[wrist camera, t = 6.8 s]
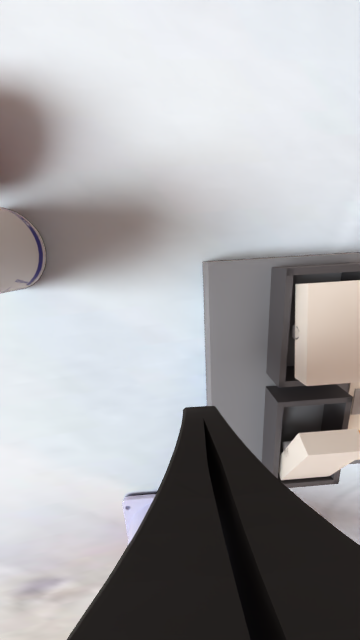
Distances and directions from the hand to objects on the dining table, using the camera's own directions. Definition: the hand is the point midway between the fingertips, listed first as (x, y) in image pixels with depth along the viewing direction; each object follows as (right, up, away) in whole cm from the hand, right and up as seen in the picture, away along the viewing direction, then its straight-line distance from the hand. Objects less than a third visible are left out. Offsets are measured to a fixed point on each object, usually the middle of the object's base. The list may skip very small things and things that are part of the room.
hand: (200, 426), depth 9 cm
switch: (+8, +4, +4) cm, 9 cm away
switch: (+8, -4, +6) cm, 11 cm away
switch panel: (+8, +1, +9) cm, 12 cm away
